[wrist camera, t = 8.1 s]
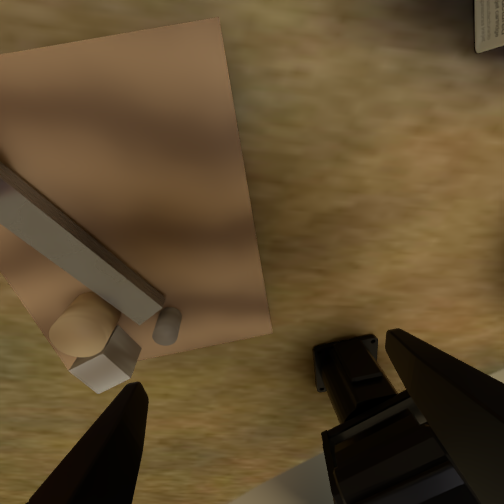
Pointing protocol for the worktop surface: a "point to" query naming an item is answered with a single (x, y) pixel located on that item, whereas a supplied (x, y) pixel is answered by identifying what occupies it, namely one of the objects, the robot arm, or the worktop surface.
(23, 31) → the worktop surface
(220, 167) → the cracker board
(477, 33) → the ink box
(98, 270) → the lever
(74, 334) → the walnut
